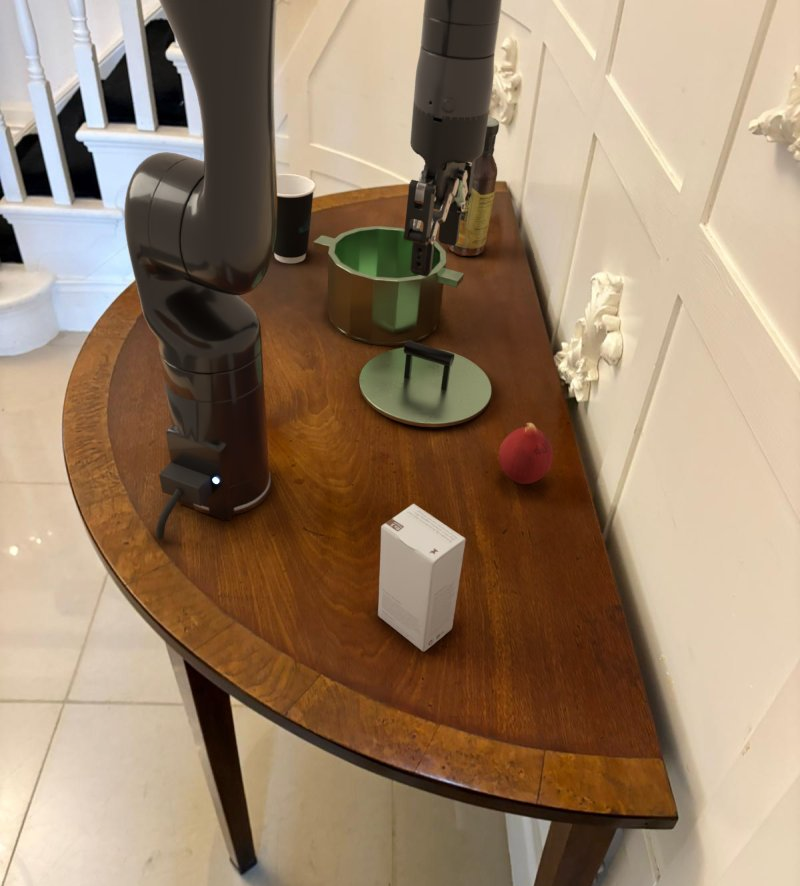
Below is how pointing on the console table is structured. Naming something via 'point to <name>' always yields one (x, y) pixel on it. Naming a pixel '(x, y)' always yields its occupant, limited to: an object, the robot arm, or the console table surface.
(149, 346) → the console table surface
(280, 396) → the console table surface
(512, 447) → the onion
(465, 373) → the lid
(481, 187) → the sauce bottle
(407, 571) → the cosmetic box
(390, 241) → the pot
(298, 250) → the dixie cup
